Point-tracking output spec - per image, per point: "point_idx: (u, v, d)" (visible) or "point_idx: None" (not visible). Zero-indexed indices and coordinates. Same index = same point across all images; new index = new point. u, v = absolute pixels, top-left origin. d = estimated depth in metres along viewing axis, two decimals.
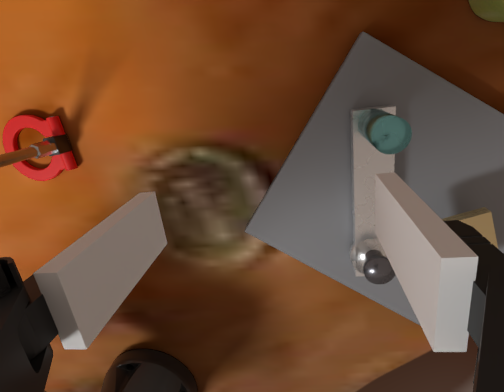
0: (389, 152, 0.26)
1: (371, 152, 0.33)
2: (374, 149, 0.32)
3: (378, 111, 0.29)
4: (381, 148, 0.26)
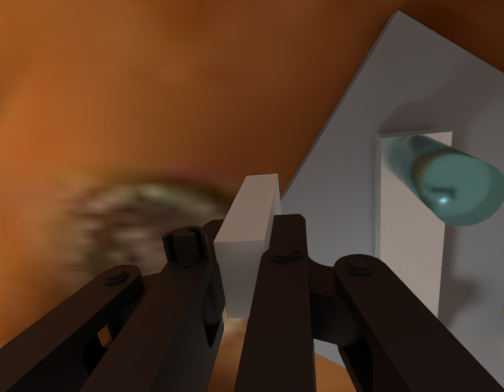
0: (460, 223, 0.14)
1: (409, 201, 0.21)
2: (414, 197, 0.21)
3: (429, 142, 0.17)
4: (446, 215, 0.14)
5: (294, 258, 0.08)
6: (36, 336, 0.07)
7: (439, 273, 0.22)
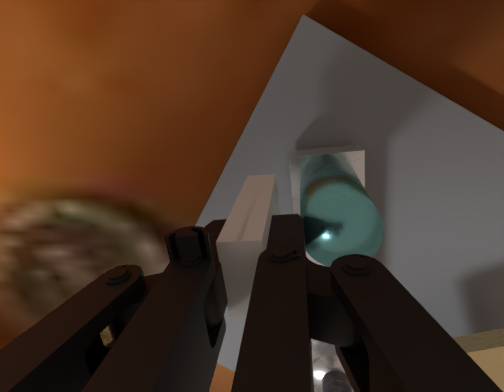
0: None
1: None
2: None
3: (327, 164, 0.15)
4: (321, 256, 0.12)
5: (291, 258, 0.08)
6: (38, 336, 0.07)
7: None
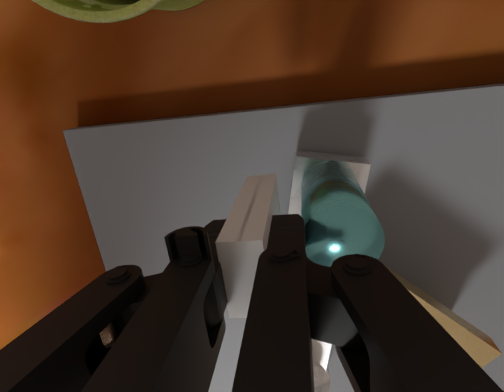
0: None
1: None
2: None
3: (335, 171, 0.15)
4: (317, 260, 0.12)
5: (292, 258, 0.08)
6: (38, 336, 0.07)
7: None
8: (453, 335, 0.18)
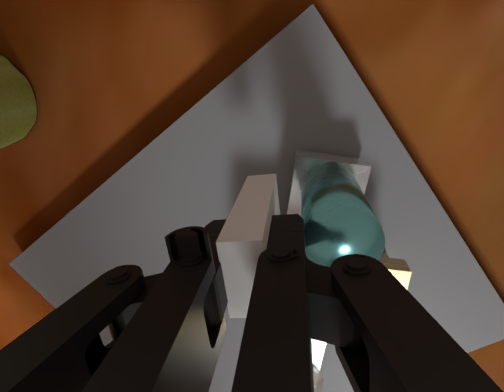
0: None
1: None
2: None
3: (336, 173, 0.15)
4: (316, 262, 0.12)
5: (292, 258, 0.08)
6: (38, 336, 0.07)
7: None
8: None
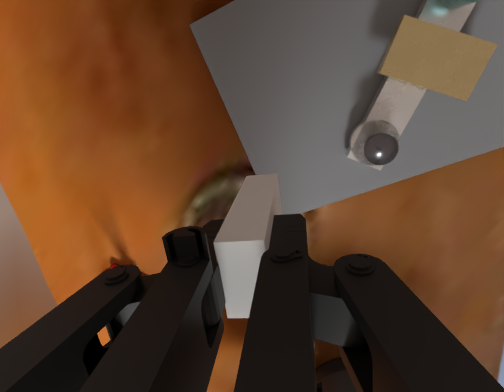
0: None
1: (438, 21, 0.30)
2: (442, 19, 0.30)
3: None
4: None
5: (294, 258, 0.08)
6: (36, 336, 0.07)
7: None
8: (463, 43, 0.28)
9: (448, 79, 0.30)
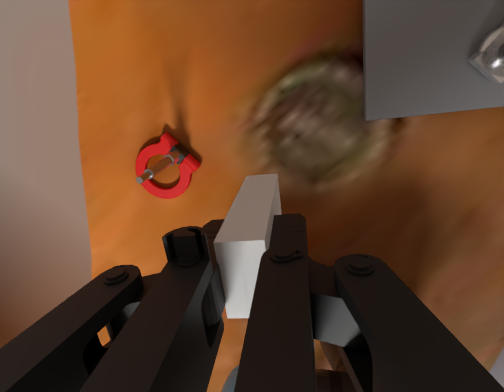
0: None
1: None
2: None
3: None
4: None
5: (294, 258, 0.08)
6: (36, 336, 0.07)
7: None
8: None
9: None
